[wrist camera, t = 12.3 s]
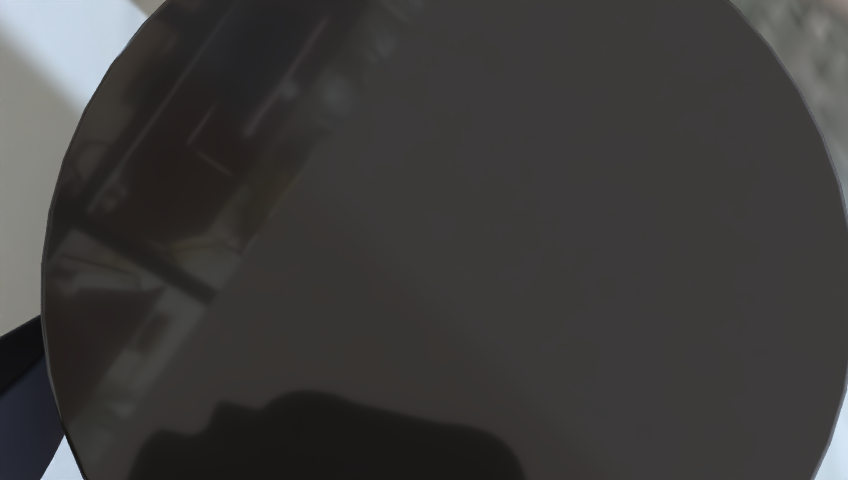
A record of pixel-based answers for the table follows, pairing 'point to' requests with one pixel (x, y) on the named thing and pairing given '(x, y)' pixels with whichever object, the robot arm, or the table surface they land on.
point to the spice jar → (447, 247)
